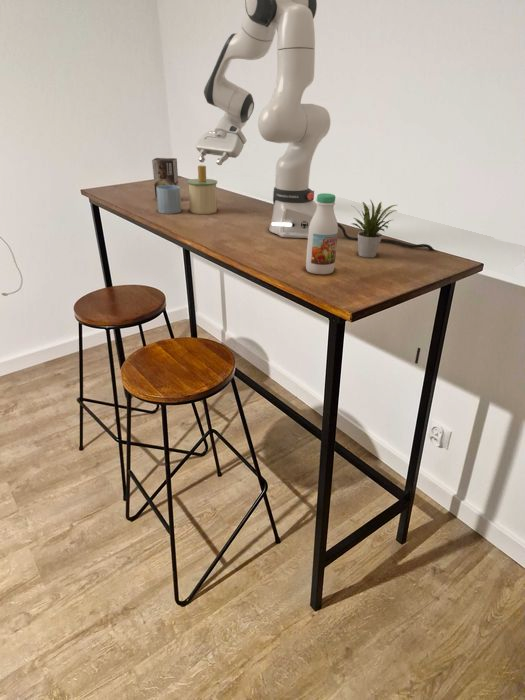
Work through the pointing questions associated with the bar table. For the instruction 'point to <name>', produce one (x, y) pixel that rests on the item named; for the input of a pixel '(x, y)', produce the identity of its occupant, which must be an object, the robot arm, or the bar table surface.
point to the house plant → (371, 230)
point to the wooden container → (202, 199)
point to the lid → (202, 178)
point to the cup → (168, 199)
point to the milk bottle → (322, 237)
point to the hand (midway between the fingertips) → (209, 162)
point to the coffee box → (165, 172)
